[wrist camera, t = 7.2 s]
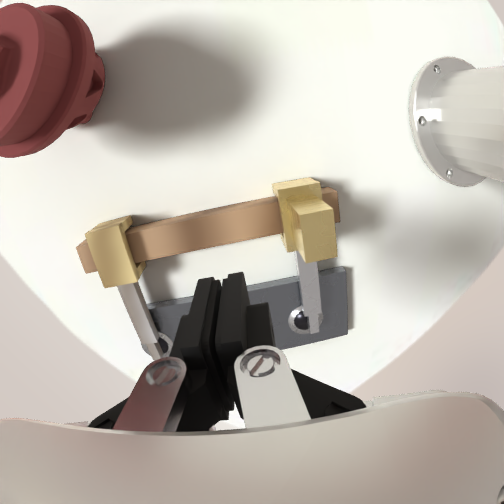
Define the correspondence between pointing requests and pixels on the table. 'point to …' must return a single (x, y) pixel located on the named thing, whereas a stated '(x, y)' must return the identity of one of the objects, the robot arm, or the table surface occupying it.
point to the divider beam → (173, 247)
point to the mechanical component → (44, 76)
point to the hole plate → (272, 311)
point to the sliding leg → (307, 237)
